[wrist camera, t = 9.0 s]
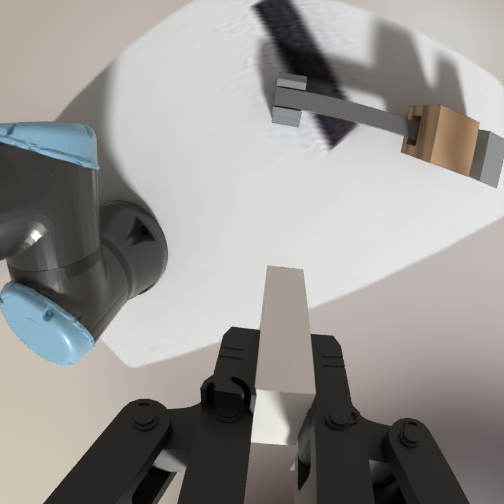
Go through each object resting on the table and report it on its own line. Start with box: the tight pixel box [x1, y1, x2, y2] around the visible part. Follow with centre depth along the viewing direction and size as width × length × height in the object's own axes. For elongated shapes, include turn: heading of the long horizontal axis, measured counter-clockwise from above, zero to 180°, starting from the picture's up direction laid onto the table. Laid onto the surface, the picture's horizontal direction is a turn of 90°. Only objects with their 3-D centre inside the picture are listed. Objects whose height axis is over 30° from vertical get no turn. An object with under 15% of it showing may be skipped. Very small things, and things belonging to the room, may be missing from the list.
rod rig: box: [272, 72, 504, 188], centre depth 29 cm, size 27×6×9 cm, turn 82°
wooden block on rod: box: [401, 105, 480, 177], centre depth 27 cm, size 5×6×9 cm
